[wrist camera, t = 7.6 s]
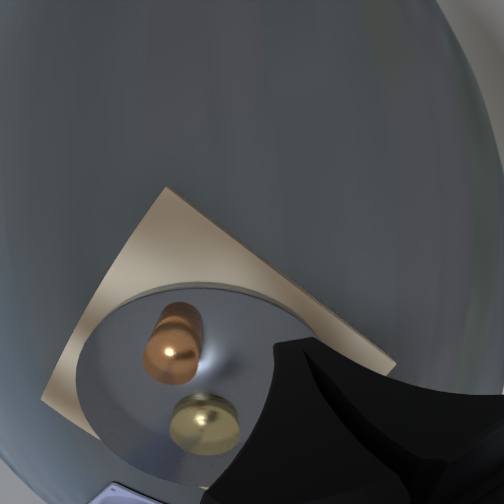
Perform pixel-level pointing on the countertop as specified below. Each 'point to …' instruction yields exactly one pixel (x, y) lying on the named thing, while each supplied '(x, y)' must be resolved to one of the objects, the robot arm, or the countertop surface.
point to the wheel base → (195, 270)
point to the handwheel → (183, 376)
